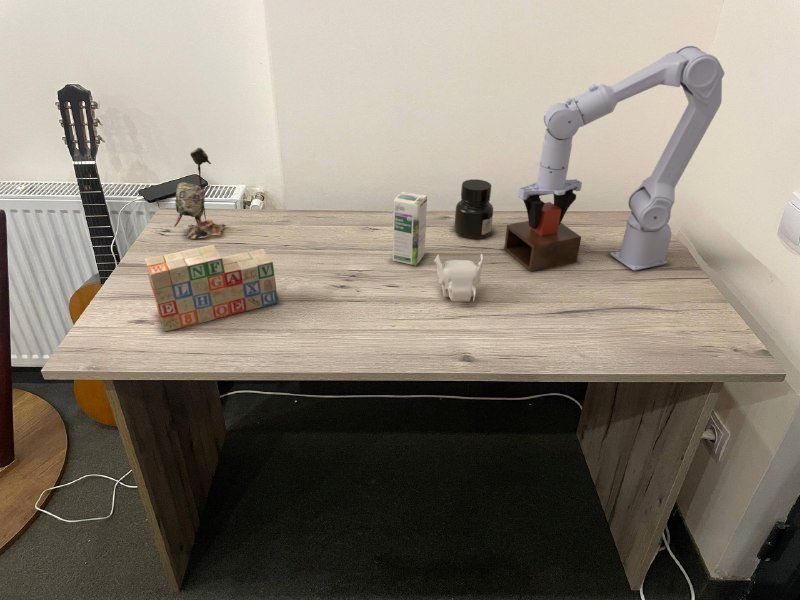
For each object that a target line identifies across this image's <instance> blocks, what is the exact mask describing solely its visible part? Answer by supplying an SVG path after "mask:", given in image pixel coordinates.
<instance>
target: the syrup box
mask: <svg viewBox="0 0 800 600" xmlns="http://www.w3.org/2000/svg"><path fill="white" fill-rule="evenodd" d="M392 207H393V209H392V212H393V213H392V220H393V221H392V223H393V224H392V262H398V263H401V264H406V265H412V266H417V265H418V264H419V263H420V261H421V260H422V258H423V257H424V256H425V253H426V251H425V250H426V229H427V211H428V209H427V207H428V195H425V194H417V193H412V192H407V191H401V192H400V193H399V194H398V195H397V196H396V197H395V198H394V199H393V206H392Z"/></svg>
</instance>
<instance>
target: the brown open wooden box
mask: <svg viewBox="0 0 800 600" xmlns="http://www.w3.org/2000/svg"><path fill="white" fill-rule="evenodd" d="M504 239H505V240H504V246H503V250H504V251H505V252H506V253H507V254H509V255H510V256H511V257H512V258H513V259H514V260H516V261H517V262H518V263H519V264H520V265H522V266H523V267H524V268H525V269H526V270H528V271H529V272H536V271H542V270H545V269H550V268H556V267H561V266H566V265H569V264H574V263H577V262H578V256H579V251H580V246H581V241H582V236H581V235H580V234H578V233H577V232H575V231H573V230H572V229H571V228H569V227H568V226H566V225H565V224H564V223H562V222H561V223H560V225H559V226H558V232H557V233H554V234H549V235H544V236H540V235H539V234H538V233H536V232H535V231H534V230H532V229H531V227H530V226H529V220H527V221H526V220H525V221H520V222H515V223H510V224H507V225H506V231H505V238H504Z"/></svg>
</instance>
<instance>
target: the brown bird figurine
mask: <svg viewBox="0 0 800 600" xmlns="http://www.w3.org/2000/svg"><path fill="white" fill-rule="evenodd" d="M190 157H191V159H192V161H193V162H194V163H195V165H197V170H198V180H199V184H195V183H194V184H192V183H186V182H180V180H178V181H176V182H178V183H177V185H176V189H175V191H176V193H175V200H174V202H175V210H176V212H177V213H178V214H179V215H178V216H177V218H176V221H175V223H174V224H173V227H175V228H176V227H177V226H178V224H179V223H180V221H181V220H182V218H183V216H186V217H191V218H194V220H195V222H196V225H193V226H189V228H188V232H187V235H186V238H187V239H191V240H192V239H195V240H196V239H202V238H203V239H204V238H206V237H208V236H213V235H214V236H215V235H216V236H221V235H222V234H223V231H224V230H225V227H226V226H227V225H226V224H224V223H221V224H217V223H214V221H213V220H212V219H211V220H210V219H208V220H207V217H206V216H207V215H206V208H205V198H206V191H205V189H204V188H203V184H202V177H201V170H202V169H201V165H203V164H206V163H208V164H209V165H212V162H210V160H209V155H208V154H207V153H206V151H205V150H204V149H203V148H201V147H196V148H195V149H194V150H192V151H191V152H190ZM202 216H203V217H204V220H202Z"/></svg>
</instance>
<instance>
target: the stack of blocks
mask: <svg viewBox="0 0 800 600" xmlns="http://www.w3.org/2000/svg"><path fill="white" fill-rule="evenodd" d="M144 260H145V265H146V268H147V276H148V279H149V284H150V288H151V290H152V293H153V297H154V301H155V305H156V310H157V313H158V316H159V319H160V322H161V325H162V328H163V331H164V332H169V331H173V330H178V329H181V328H186V327H191V326H194V325H197V324H202V323H206V322H209V321H214V320H217V319H220V318H224V317H228V316H231V315H235V314H239V313H243V312H247V311H252V310H256V309H260V308H264V307H268V306H272V305H275V304H278V302H279V301H278V293H277V281H276V276H275V269H274V262H273V260H272V259H271V257H270V256H269V255H268V254H267V252H266V250H265V249H264V248H260V249H256V250H255V249H254V250H249V251H244V252H240V253H235V254H231V255H226V256H222V255H221V254H220V252H219V251H218V250H217V247H216V246H215V245H214V244H209V245H204V246H199V247H195V248H189V249H184V250H182V251H176V252H172V253H166V254H161V255H156V256H151V257H147V258H144Z"/></svg>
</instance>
